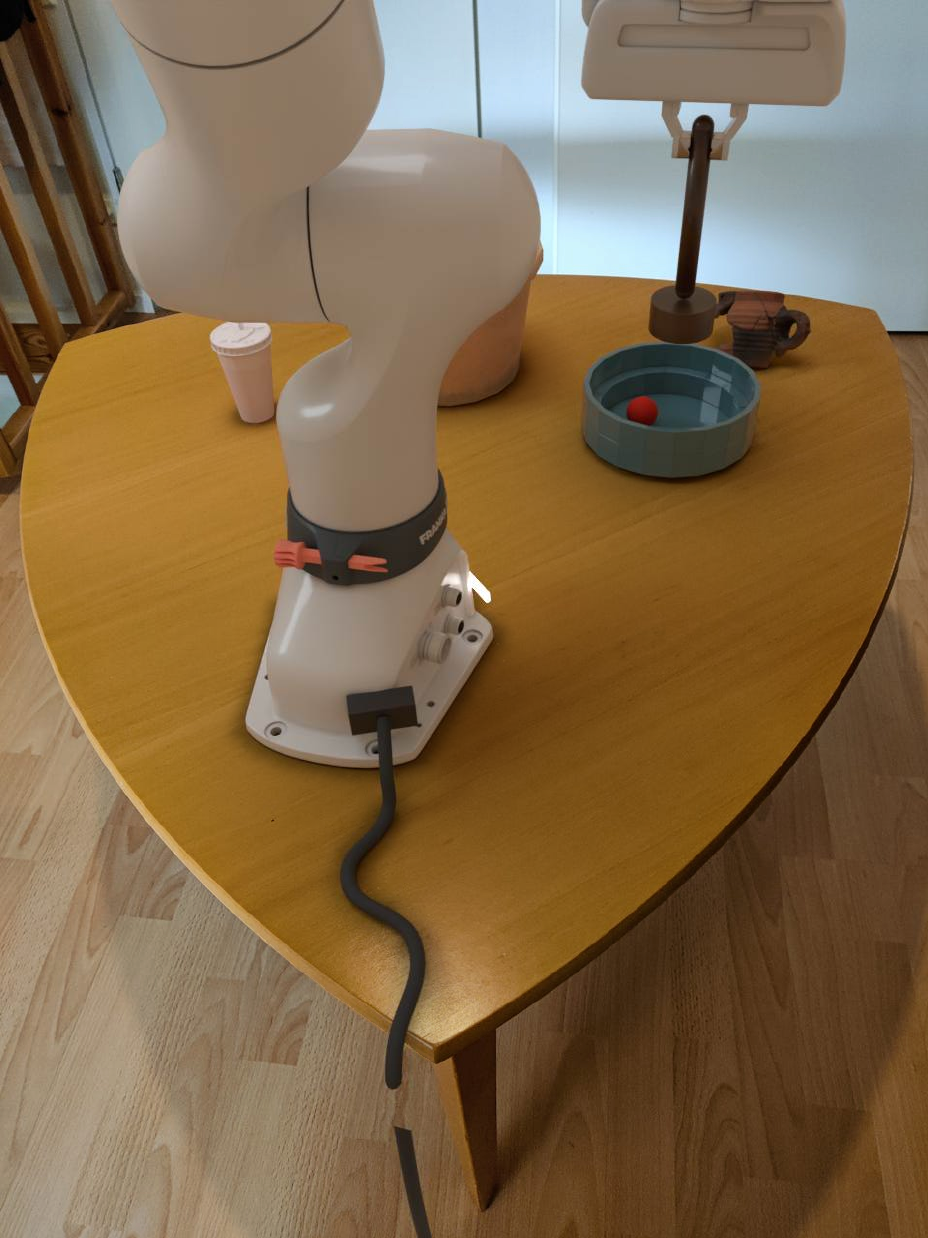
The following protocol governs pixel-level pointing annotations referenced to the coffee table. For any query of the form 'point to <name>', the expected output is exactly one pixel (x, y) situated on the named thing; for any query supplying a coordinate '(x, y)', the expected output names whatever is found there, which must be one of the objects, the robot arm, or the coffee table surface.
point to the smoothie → (247, 367)
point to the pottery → (489, 352)
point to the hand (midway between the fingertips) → (700, 157)
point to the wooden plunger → (688, 256)
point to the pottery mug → (760, 325)
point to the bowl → (671, 408)
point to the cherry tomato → (642, 411)
